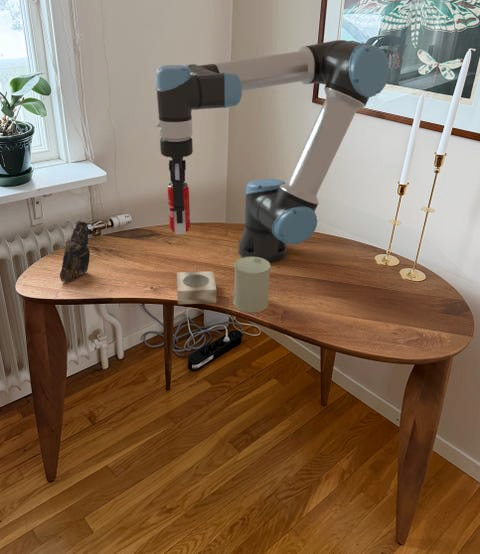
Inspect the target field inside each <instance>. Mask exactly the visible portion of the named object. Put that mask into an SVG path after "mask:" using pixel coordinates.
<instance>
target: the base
mask: <svg viewBox="0 0 480 554" xmlns="http://www.w3.org/2000/svg"><path fill="white" fill-rule="evenodd" d="M176 290H177V305H193V304H194V305H195V304H197V305H198V304H216V303H217V285H216V279H215V273H214V271H208V270H207V271H182V272H180V271H179V272H178V271H177V272H176Z"/></svg>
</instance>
